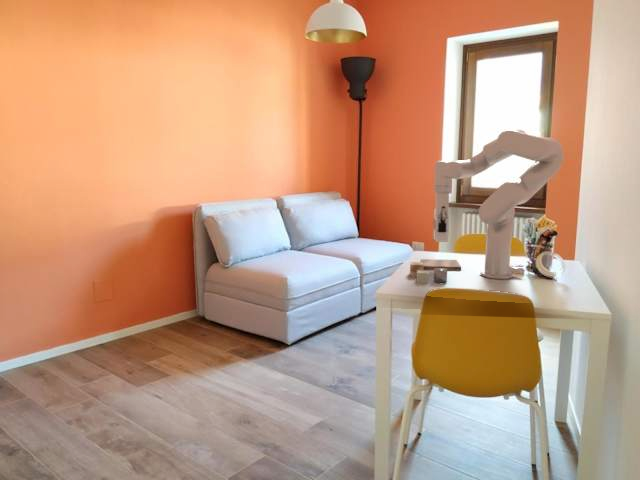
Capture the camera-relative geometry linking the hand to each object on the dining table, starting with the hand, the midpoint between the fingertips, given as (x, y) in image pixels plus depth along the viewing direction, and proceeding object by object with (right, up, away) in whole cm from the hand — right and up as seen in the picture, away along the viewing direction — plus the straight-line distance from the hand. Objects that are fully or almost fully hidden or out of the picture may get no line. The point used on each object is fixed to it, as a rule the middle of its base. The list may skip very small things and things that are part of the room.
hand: (441, 230), depth 227 cm
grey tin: (-6, -21, -23) cm, 32 cm away
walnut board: (0, -16, +3) cm, 16 cm away
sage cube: (-13, -21, -23) cm, 33 cm away
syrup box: (0, -5, +1) cm, 5 cm away
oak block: (-13, -19, -13) cm, 26 cm away
